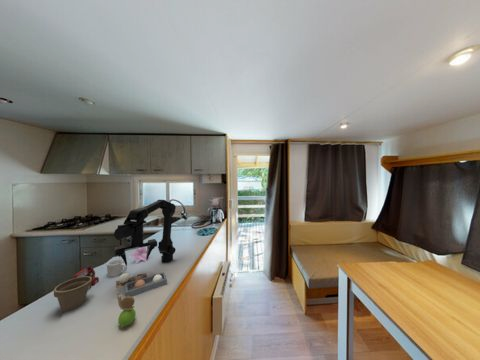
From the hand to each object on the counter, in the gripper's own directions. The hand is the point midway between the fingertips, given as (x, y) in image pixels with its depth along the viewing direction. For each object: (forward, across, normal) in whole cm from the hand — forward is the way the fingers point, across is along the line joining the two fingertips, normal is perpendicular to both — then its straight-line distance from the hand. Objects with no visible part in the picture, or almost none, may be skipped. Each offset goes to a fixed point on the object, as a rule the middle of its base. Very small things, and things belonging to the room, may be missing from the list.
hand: (136, 262), depth 85 cm
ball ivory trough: (+11, -8, +8) cm, 16 cm away
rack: (+11, +2, -3) cm, 12 cm away
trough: (+11, -3, +8) cm, 14 cm away
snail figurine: (+11, +6, +27) cm, 29 cm away
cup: (+11, +8, -16) cm, 21 cm away
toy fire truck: (+11, +21, -11) cm, 26 cm away
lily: (+12, -5, -28) cm, 31 cm away
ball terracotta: (+10, 0, +8) cm, 13 cm away
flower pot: (+11, +24, +2) cm, 26 cm away
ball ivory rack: (+10, +5, -3) cm, 12 cm away
